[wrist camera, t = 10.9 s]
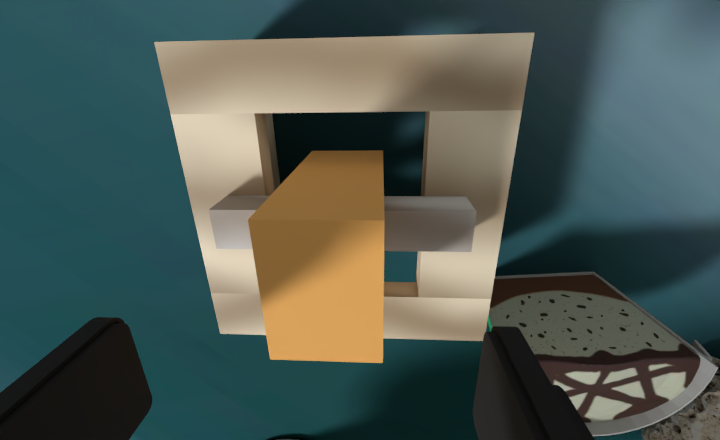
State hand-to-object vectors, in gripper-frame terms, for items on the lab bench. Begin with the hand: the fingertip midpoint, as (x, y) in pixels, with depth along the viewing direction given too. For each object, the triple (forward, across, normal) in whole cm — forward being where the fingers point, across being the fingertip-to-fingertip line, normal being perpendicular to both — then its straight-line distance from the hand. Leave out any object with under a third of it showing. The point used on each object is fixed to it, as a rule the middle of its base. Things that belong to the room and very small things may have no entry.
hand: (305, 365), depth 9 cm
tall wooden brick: (+12, 0, -1) cm, 12 cm away
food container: (+19, -15, +11) cm, 26 cm away
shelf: (+18, 0, -1) cm, 18 cm away
